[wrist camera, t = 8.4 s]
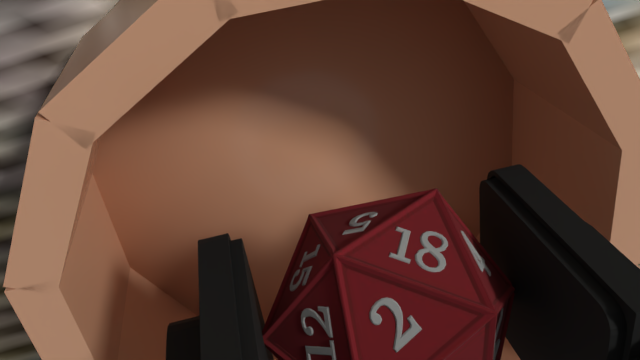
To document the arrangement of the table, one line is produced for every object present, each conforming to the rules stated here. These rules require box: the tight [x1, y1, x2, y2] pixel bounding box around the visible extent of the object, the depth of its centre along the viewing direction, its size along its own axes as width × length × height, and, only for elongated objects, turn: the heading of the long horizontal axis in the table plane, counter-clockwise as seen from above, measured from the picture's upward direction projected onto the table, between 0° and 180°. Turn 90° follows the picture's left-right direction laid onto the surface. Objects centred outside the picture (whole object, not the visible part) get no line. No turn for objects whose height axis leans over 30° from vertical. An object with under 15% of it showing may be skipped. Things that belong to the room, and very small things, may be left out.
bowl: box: [3, 0, 640, 360], centre depth 13 cm, size 12×12×5 cm
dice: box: [262, 188, 515, 360], centre depth 10 cm, size 4×4×4 cm
